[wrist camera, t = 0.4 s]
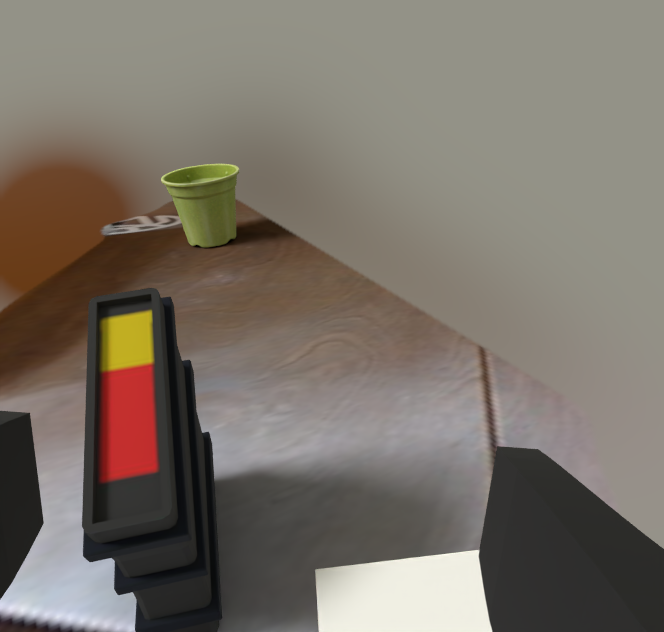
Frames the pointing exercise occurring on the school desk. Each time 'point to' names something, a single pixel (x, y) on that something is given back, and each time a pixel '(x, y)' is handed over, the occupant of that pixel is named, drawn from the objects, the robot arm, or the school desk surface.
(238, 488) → the school desk surface
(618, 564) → the robot arm
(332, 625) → the camera housing
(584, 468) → the school desk surface
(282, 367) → the school desk surface
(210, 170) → the plant pot
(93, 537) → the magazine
